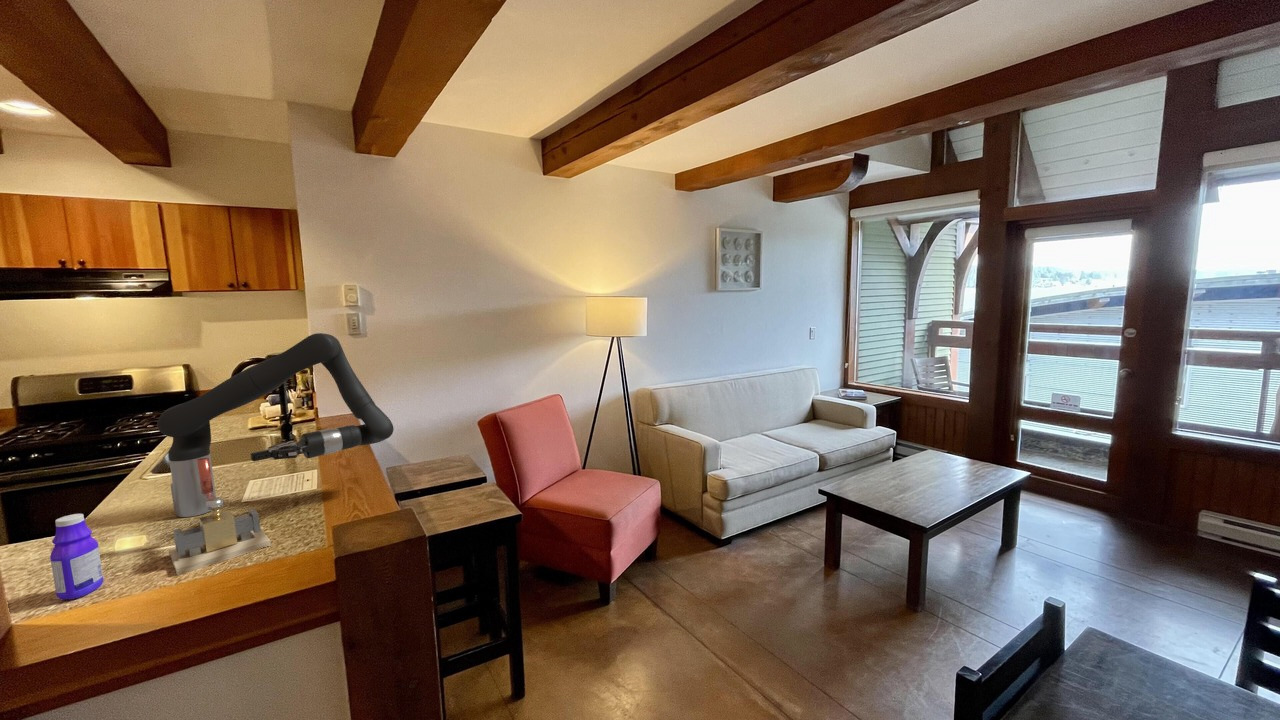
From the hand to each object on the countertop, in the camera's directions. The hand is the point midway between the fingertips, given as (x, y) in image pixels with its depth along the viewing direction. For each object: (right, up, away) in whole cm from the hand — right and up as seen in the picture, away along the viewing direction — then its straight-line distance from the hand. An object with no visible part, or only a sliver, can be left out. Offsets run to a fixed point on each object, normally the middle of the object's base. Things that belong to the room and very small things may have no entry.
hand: (251, 457), depth 139 cm
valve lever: (-3, -10, -10) cm, 14 cm away
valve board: (+1, -22, -11) cm, 24 cm away
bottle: (-15, -24, -29) cm, 41 cm away
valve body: (+1, -20, -12) cm, 23 cm away
